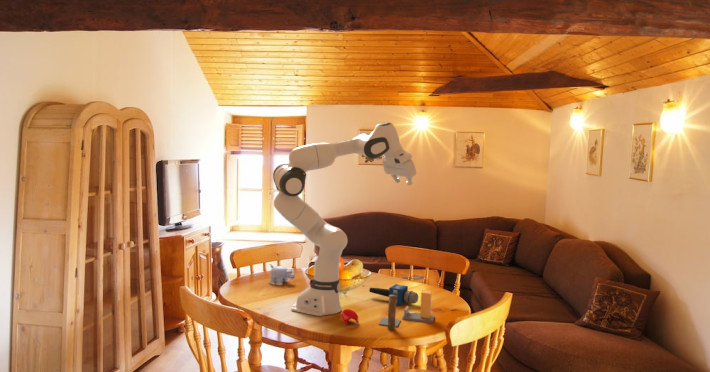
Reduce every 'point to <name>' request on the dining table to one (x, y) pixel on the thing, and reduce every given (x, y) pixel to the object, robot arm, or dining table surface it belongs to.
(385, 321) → the coaster
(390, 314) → the brown wooden post
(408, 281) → the dining table surface
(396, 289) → the microphone
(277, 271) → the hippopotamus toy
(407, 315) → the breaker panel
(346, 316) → the cap
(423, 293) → the tan wooden block
